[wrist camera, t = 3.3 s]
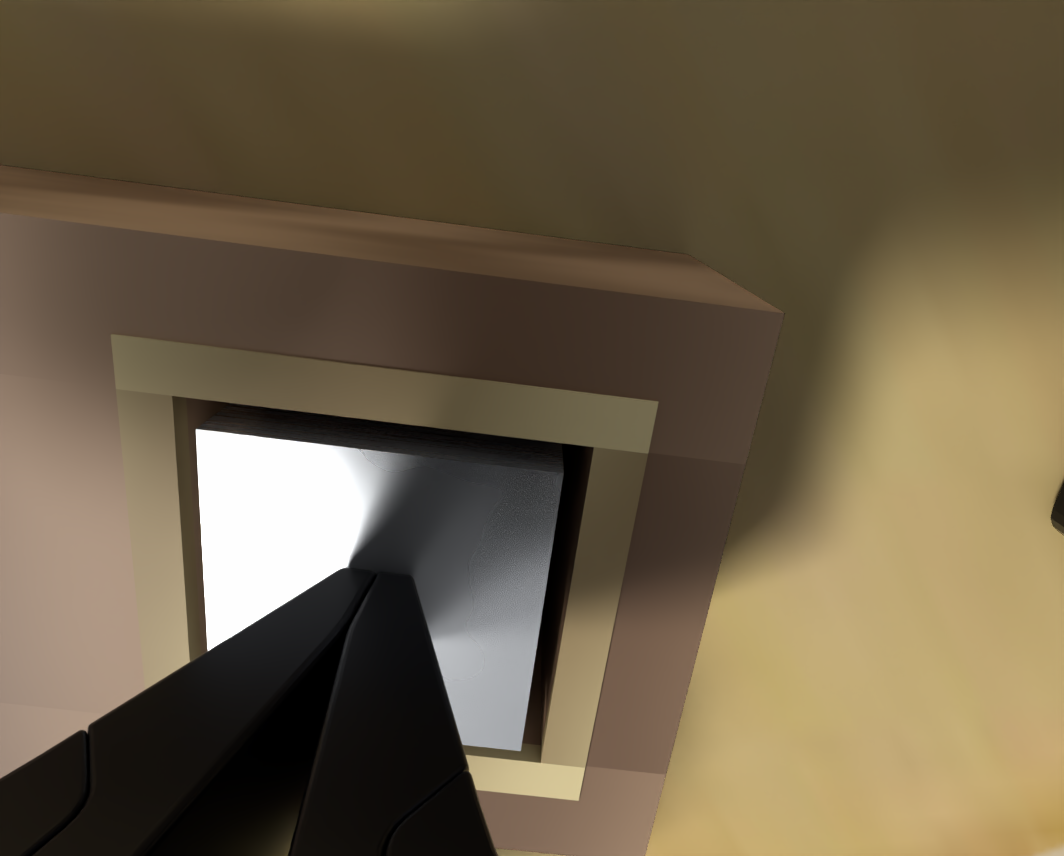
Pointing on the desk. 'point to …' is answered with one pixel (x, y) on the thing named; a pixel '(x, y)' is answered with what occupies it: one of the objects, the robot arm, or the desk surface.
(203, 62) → the desk surface
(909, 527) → the desk surface
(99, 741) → the robot arm
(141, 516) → the walnut bar
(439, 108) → the desk surface
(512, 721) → the steel peg
